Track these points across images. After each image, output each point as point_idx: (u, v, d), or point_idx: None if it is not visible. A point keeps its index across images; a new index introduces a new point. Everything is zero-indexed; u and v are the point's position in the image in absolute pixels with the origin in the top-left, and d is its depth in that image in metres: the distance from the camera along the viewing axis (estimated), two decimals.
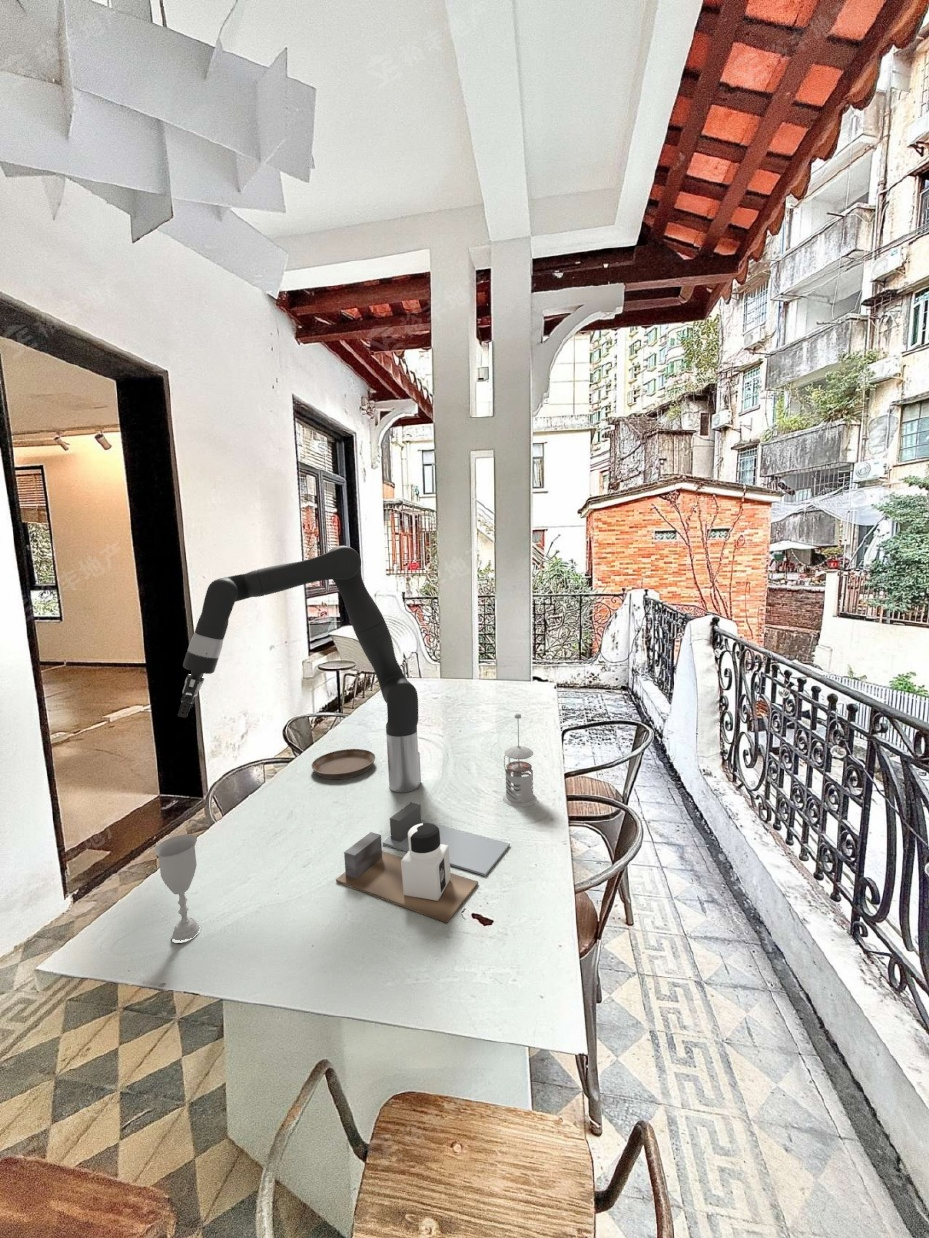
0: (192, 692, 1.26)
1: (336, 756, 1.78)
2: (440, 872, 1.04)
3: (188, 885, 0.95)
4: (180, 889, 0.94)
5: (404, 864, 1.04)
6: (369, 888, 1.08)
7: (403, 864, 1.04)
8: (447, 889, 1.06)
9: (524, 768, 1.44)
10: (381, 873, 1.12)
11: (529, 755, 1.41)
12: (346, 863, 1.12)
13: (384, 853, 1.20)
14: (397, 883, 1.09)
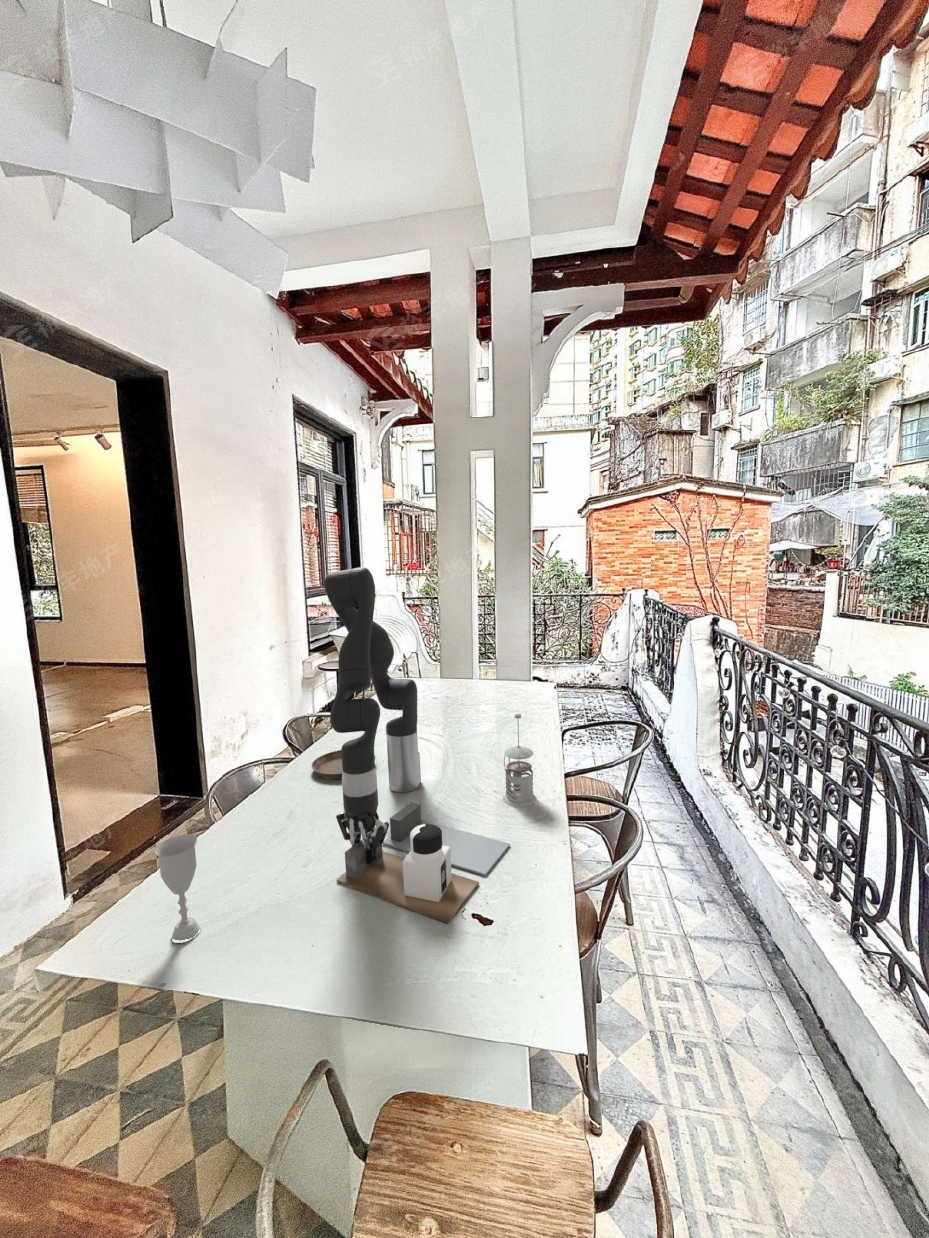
0: (384, 836, 1.12)
1: (336, 756, 1.78)
2: (442, 873, 1.04)
3: (188, 885, 0.95)
4: (180, 889, 0.94)
5: (406, 865, 1.04)
6: (370, 888, 1.07)
7: (405, 865, 1.04)
8: (448, 889, 1.06)
9: (524, 768, 1.44)
10: (382, 873, 1.12)
11: (529, 755, 1.41)
12: (346, 863, 1.12)
13: (385, 853, 1.20)
14: (398, 883, 1.09)
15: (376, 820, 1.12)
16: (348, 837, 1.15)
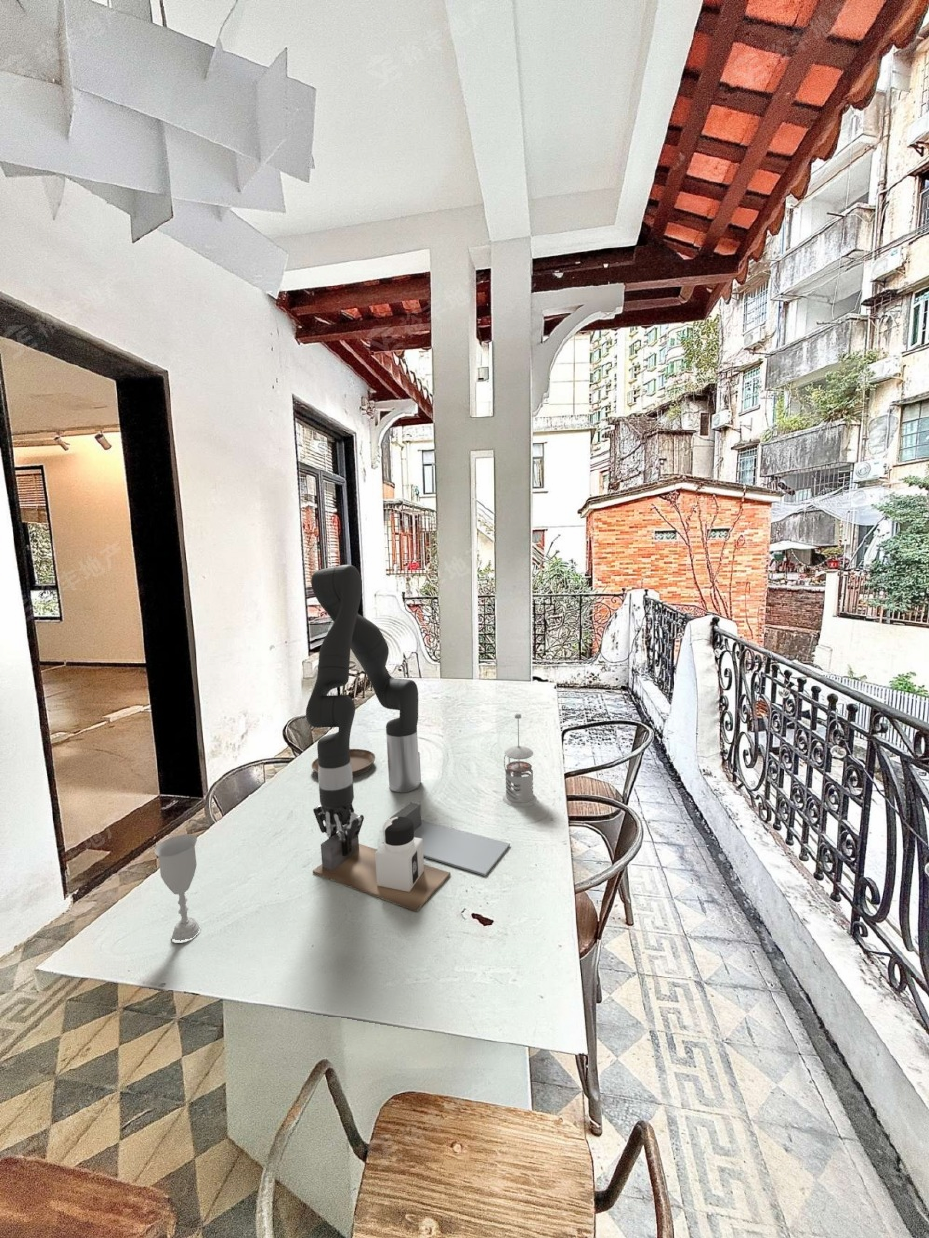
0: (359, 828, 1.16)
1: None
2: (413, 864, 1.07)
3: (188, 885, 0.95)
4: (180, 889, 0.94)
5: (378, 856, 1.07)
6: (344, 879, 1.11)
7: (377, 856, 1.07)
8: (420, 879, 1.10)
9: (524, 768, 1.44)
10: (357, 865, 1.16)
11: (529, 755, 1.41)
12: (322, 855, 1.15)
13: (361, 846, 1.23)
14: (371, 874, 1.12)
15: (351, 813, 1.15)
16: (325, 830, 1.19)
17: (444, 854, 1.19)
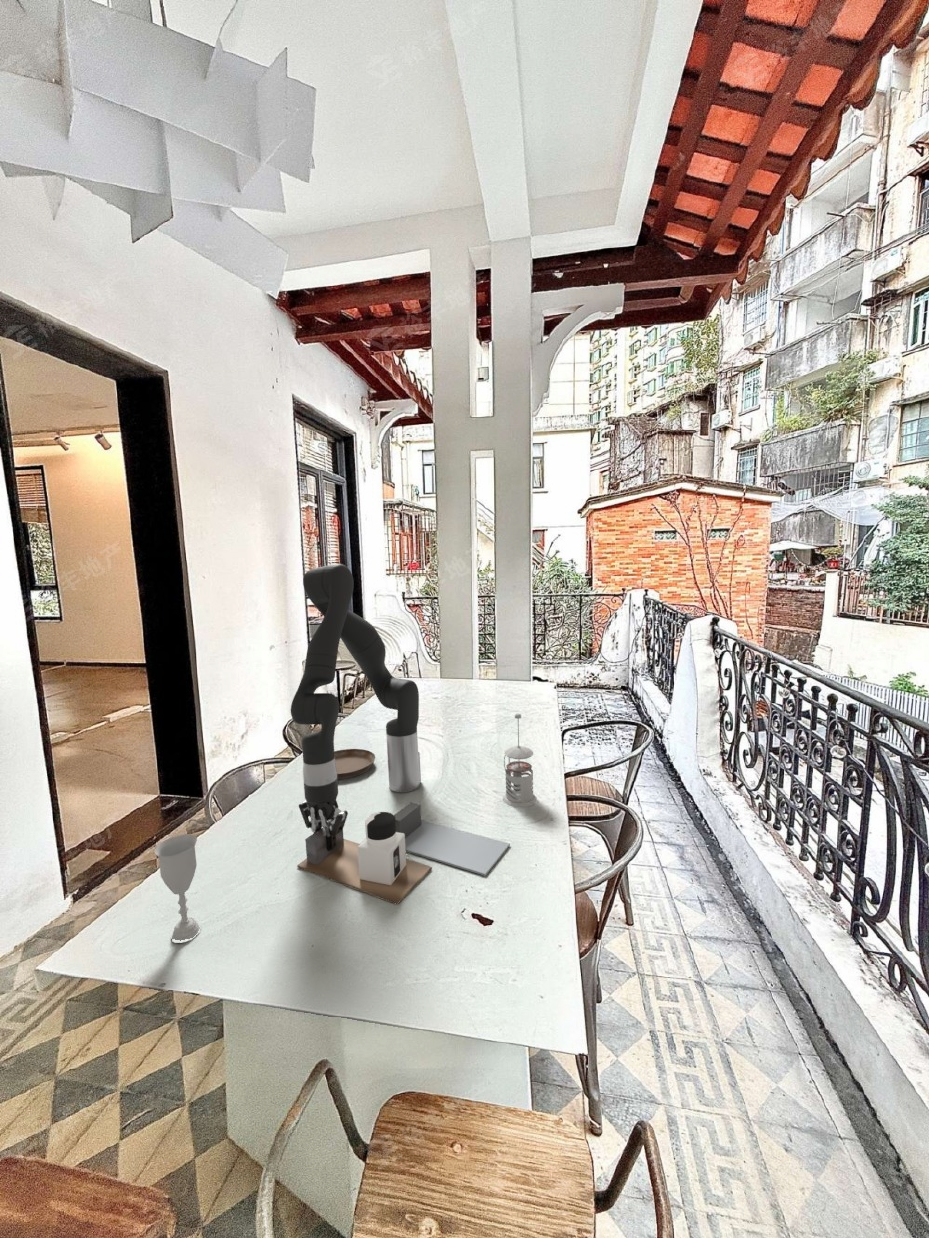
0: (343, 823, 1.18)
1: (336, 756, 1.78)
2: (395, 858, 1.10)
3: (188, 885, 0.95)
4: (180, 889, 0.94)
5: (360, 850, 1.09)
6: (328, 873, 1.13)
7: (359, 850, 1.09)
8: (402, 873, 1.12)
9: (524, 768, 1.44)
10: (341, 859, 1.18)
11: (529, 755, 1.41)
12: (307, 849, 1.17)
13: (346, 841, 1.26)
14: (355, 868, 1.15)
15: (335, 808, 1.17)
16: (310, 825, 1.21)
17: (444, 854, 1.19)
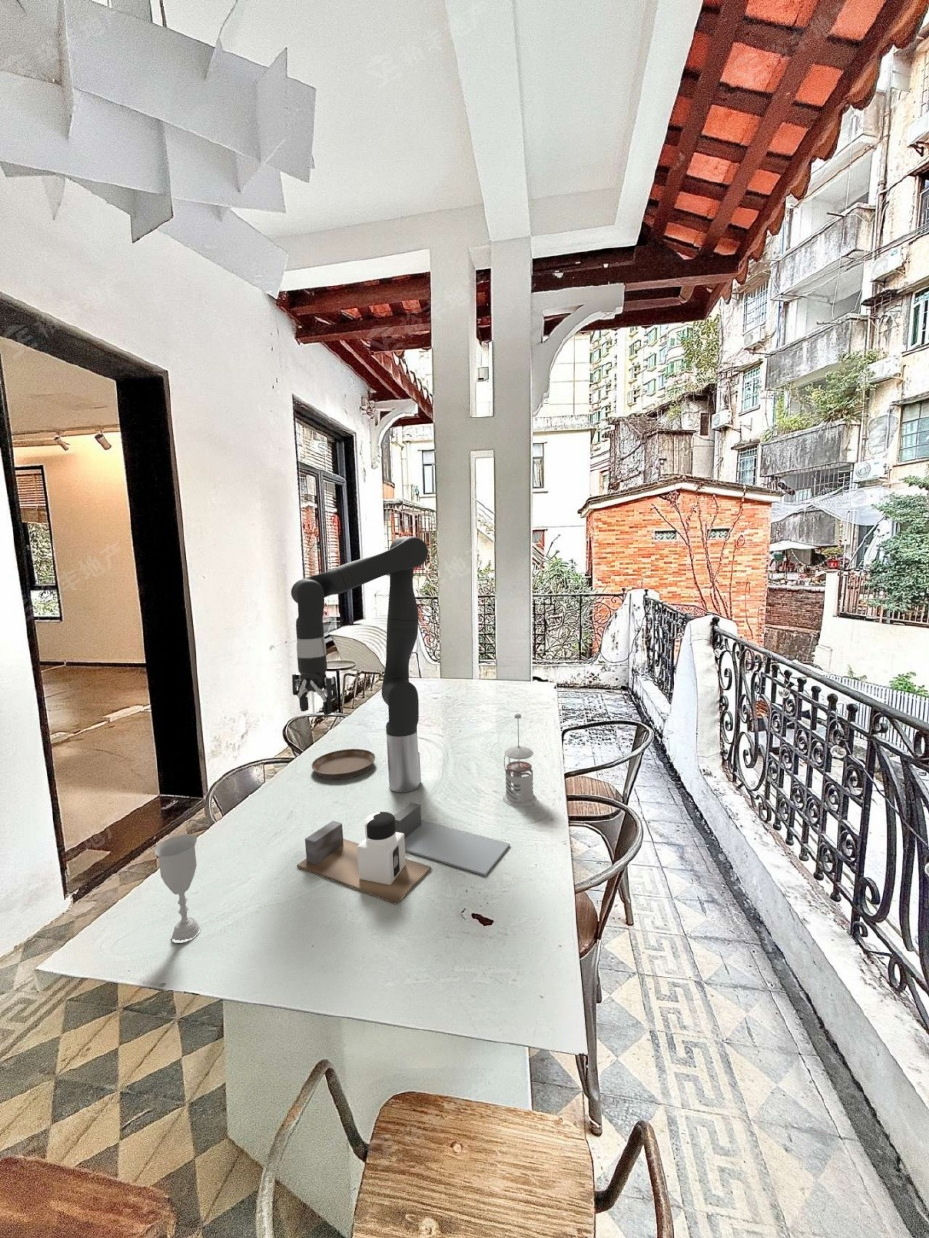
0: (335, 688, 1.36)
1: (336, 756, 1.78)
2: (394, 858, 1.10)
3: (188, 885, 0.95)
4: (180, 889, 0.94)
5: (360, 850, 1.09)
6: (327, 873, 1.13)
7: (359, 850, 1.09)
8: (401, 873, 1.12)
9: (524, 768, 1.44)
10: (340, 859, 1.18)
11: (529, 755, 1.41)
12: (307, 849, 1.17)
13: (346, 841, 1.26)
14: (354, 868, 1.15)
15: (324, 677, 1.36)
16: (296, 692, 1.41)
17: (444, 854, 1.19)
